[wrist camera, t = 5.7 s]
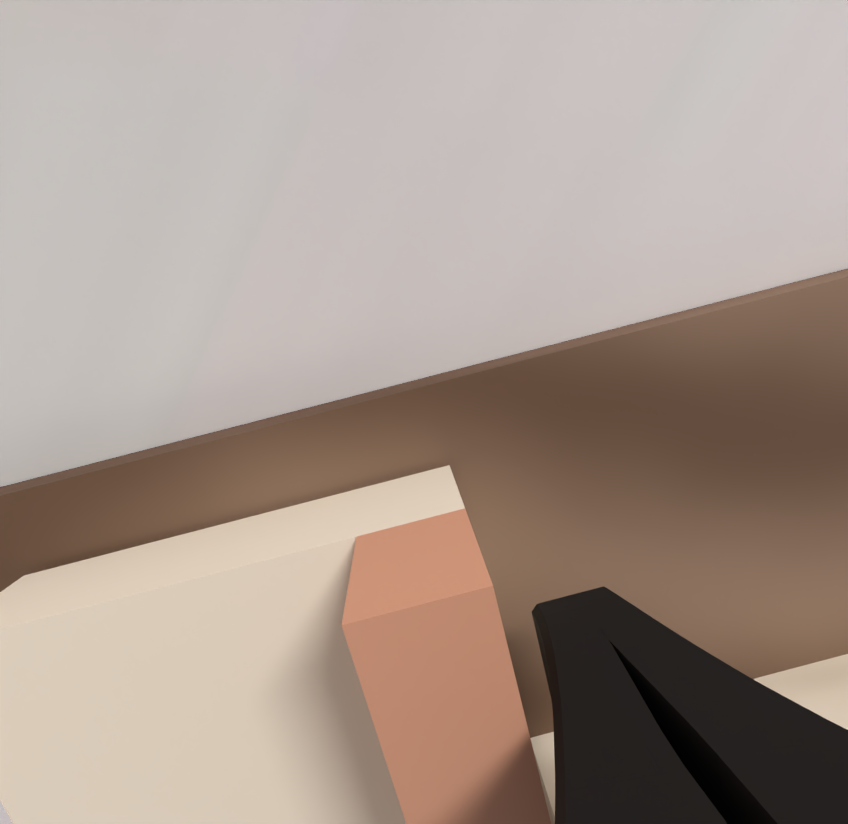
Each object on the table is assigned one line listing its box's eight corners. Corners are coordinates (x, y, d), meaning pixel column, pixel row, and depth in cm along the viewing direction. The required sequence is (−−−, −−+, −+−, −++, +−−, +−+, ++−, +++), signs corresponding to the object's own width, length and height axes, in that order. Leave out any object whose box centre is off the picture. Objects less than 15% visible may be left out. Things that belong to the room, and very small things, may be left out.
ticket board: (932, 849, 13) (1094, 1010, 10) (218, 1041, 13) (165, 1261, 10) (915, 251, 10) (1148, 223, 7) (-48, 499, 10) (-252, 586, 7)
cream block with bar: (515, 729, 10) (592, 993, 6) (144, 828, 10) (-16, 1157, 6) (449, 464, 9) (492, 586, 5) (23, 575, 9) (-273, 786, 5)
